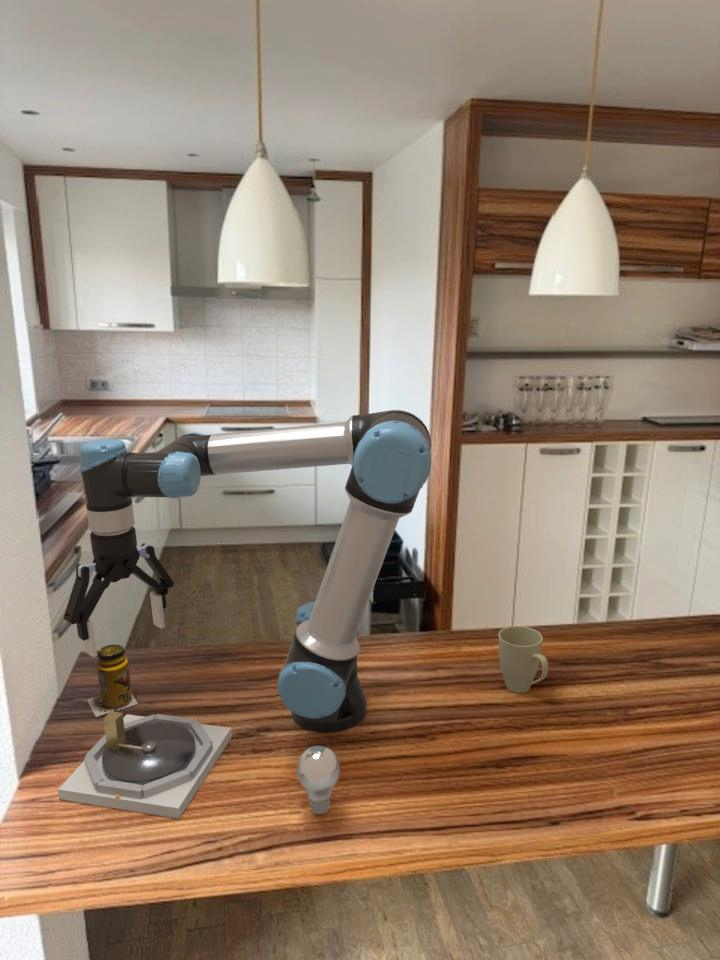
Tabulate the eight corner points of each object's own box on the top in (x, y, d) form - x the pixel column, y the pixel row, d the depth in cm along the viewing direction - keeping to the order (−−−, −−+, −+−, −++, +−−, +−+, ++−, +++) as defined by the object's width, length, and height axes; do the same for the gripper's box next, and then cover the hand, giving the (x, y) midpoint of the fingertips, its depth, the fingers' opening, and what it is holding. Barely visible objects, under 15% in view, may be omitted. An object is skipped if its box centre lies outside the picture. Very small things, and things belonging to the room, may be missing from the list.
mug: (491, 696, 149) (493, 644, 146) (501, 672, 158) (503, 623, 154) (545, 706, 145) (548, 653, 142) (551, 682, 154) (555, 631, 150)
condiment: (138, 704, 148) (132, 652, 145) (96, 717, 143) (89, 664, 140) (127, 688, 154) (122, 637, 150) (87, 700, 149) (80, 649, 146)
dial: (210, 733, 134) (207, 700, 132) (169, 791, 119) (166, 754, 117) (132, 723, 137) (128, 690, 135) (84, 778, 122) (79, 742, 120)
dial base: (232, 736, 137) (230, 721, 136) (179, 818, 116) (177, 800, 115) (127, 723, 141) (126, 707, 140) (59, 799, 121) (56, 781, 120)
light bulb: (298, 799, 120) (295, 737, 117) (340, 796, 120) (338, 734, 117) (298, 829, 113) (295, 765, 110) (342, 826, 114) (341, 762, 111)
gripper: (162, 507, 135) (173, 610, 141) (31, 544, 117) (49, 660, 123) (185, 514, 130) (196, 620, 136) (52, 554, 113) (70, 674, 118)
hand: (126, 639), depth 129 cm, fingers open, 13 cm apart
